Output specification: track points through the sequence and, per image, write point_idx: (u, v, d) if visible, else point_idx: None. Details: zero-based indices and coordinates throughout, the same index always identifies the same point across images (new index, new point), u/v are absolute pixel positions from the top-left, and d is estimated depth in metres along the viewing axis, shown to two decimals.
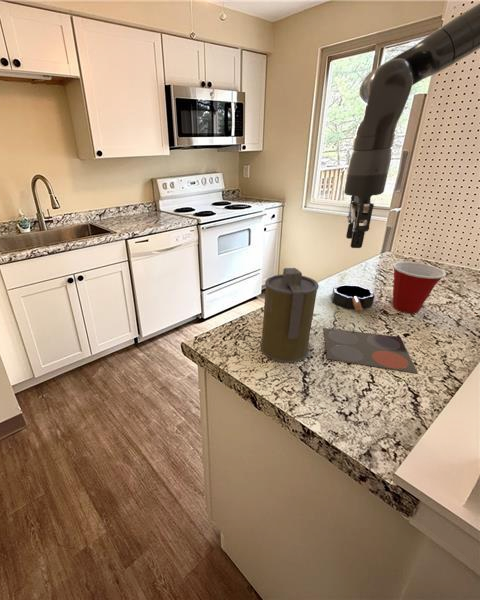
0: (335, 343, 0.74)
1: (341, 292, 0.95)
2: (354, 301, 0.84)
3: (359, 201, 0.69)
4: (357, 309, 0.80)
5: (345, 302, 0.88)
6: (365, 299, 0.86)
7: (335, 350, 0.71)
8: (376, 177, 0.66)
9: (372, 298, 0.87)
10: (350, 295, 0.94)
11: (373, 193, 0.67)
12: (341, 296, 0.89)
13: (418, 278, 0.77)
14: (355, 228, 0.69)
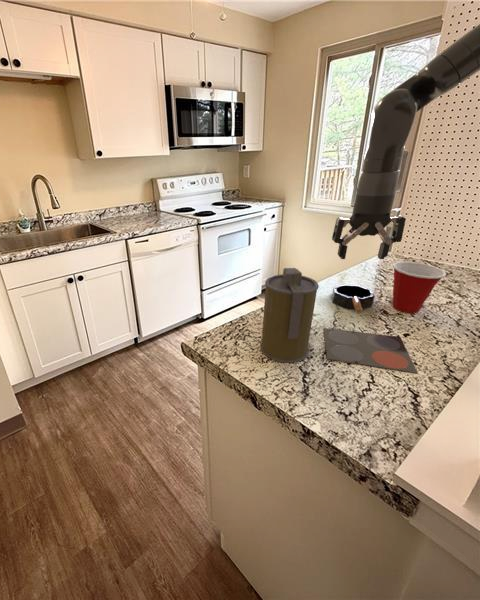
0: (335, 343, 0.74)
1: (341, 292, 0.95)
2: (354, 301, 0.84)
3: None
4: (357, 309, 0.80)
5: (345, 302, 0.88)
6: (365, 299, 0.86)
7: (335, 350, 0.71)
8: (359, 197, 0.72)
9: (372, 298, 0.87)
10: (350, 295, 0.94)
11: (356, 212, 0.74)
12: (341, 296, 0.89)
13: (418, 278, 0.77)
14: None
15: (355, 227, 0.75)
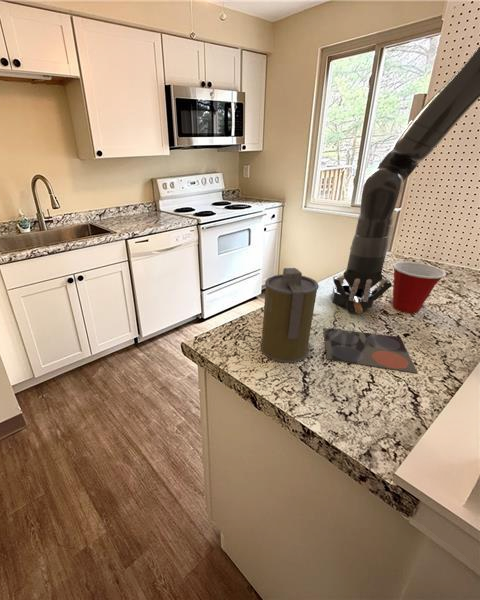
0: (335, 343, 0.74)
1: None
2: (354, 301, 0.84)
3: None
4: (357, 309, 0.80)
5: (345, 302, 0.88)
6: None
7: (335, 350, 0.71)
8: (351, 256, 0.79)
9: None
10: None
11: (349, 268, 0.81)
12: None
13: (418, 278, 0.77)
14: None
15: (348, 281, 0.82)
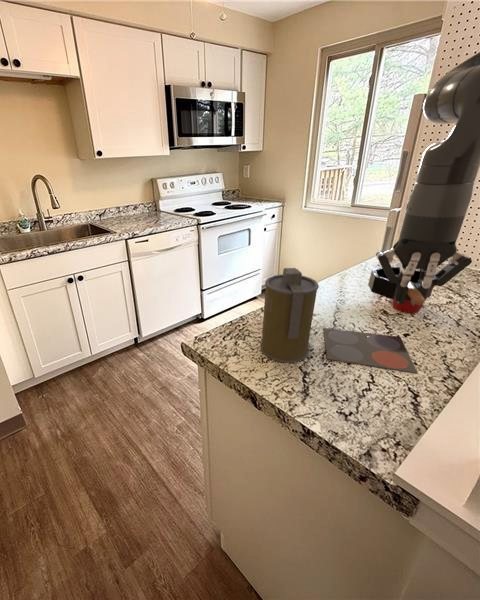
0: (335, 343, 0.74)
1: None
2: (408, 287, 0.57)
3: None
4: (416, 298, 0.53)
5: (392, 290, 0.61)
6: None
7: (335, 350, 0.71)
8: (409, 217, 0.52)
9: None
10: None
11: (404, 237, 0.54)
12: (386, 281, 0.62)
13: None
14: None
15: (401, 257, 0.55)
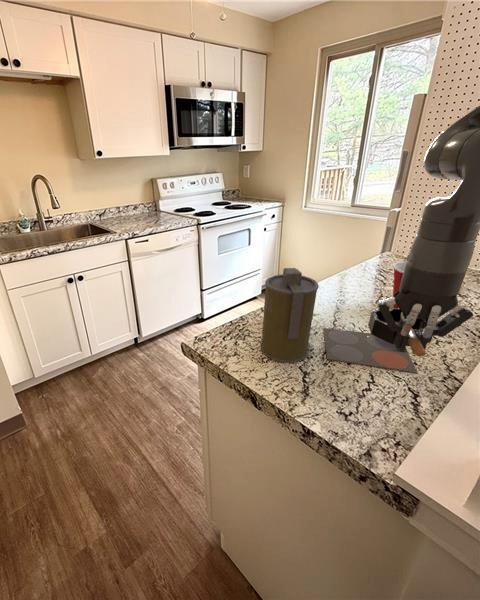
0: (335, 343, 0.74)
1: (382, 318, 0.67)
2: (409, 336, 0.57)
3: None
4: (417, 350, 0.53)
5: (392, 335, 0.60)
6: None
7: (335, 350, 0.71)
8: (410, 270, 0.52)
9: None
10: None
11: (405, 288, 0.53)
12: (386, 326, 0.61)
13: None
14: None
15: (402, 307, 0.55)
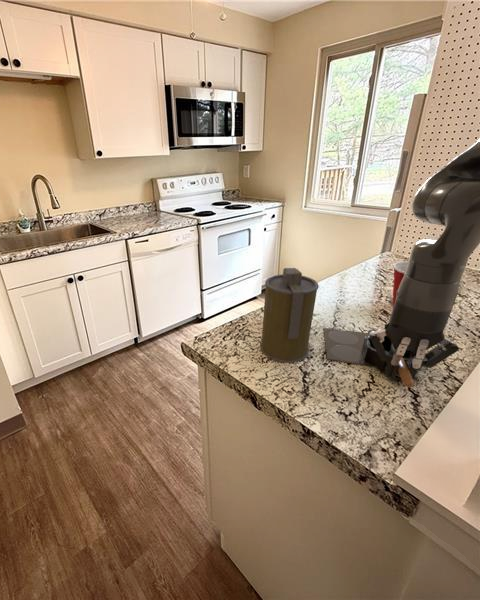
0: (335, 343, 0.74)
1: None
2: (399, 365, 0.59)
3: None
4: (406, 381, 0.56)
5: (384, 363, 0.63)
6: None
7: (335, 350, 0.71)
8: (399, 305, 0.55)
9: None
10: (386, 347, 0.70)
11: (394, 322, 0.56)
12: None
13: None
14: None
15: (392, 339, 0.57)
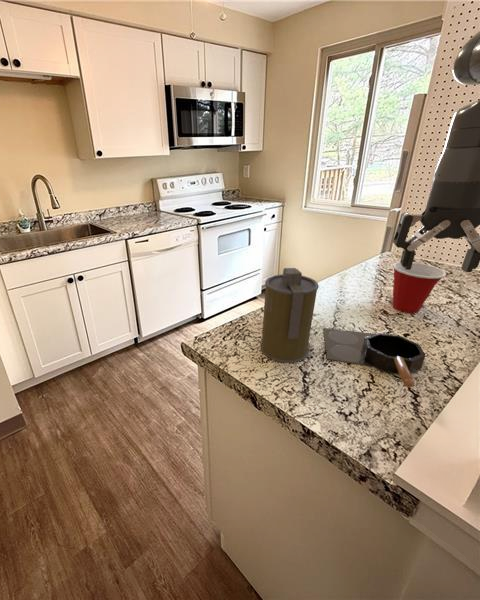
0: (335, 343, 0.74)
1: (374, 343, 0.70)
2: (399, 365, 0.59)
3: None
4: (406, 381, 0.56)
5: (384, 363, 0.63)
6: (413, 361, 0.61)
7: (335, 350, 0.71)
8: (438, 184, 0.51)
9: (422, 359, 0.62)
10: (386, 347, 0.70)
11: (433, 205, 0.52)
12: (378, 354, 0.64)
13: (418, 278, 0.77)
14: None
15: (429, 226, 0.54)
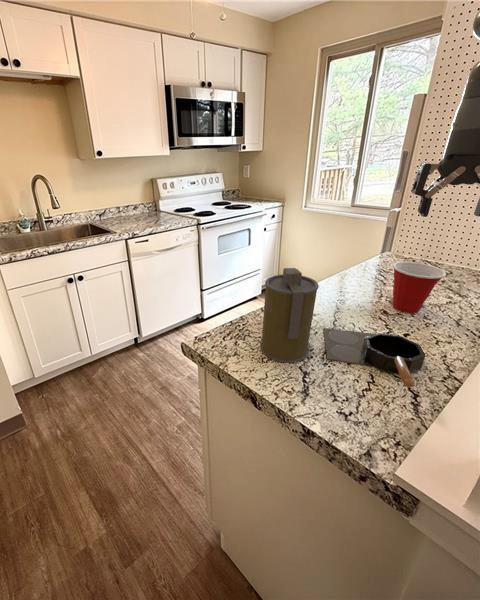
0: (335, 343, 0.74)
1: (374, 343, 0.70)
2: (399, 365, 0.59)
3: None
4: (406, 381, 0.56)
5: (384, 363, 0.63)
6: (413, 361, 0.61)
7: (335, 350, 0.71)
8: (455, 133, 0.57)
9: (422, 359, 0.62)
10: (386, 347, 0.70)
11: (450, 153, 0.58)
12: (378, 354, 0.64)
13: (418, 278, 0.77)
14: None
15: (446, 174, 0.60)
